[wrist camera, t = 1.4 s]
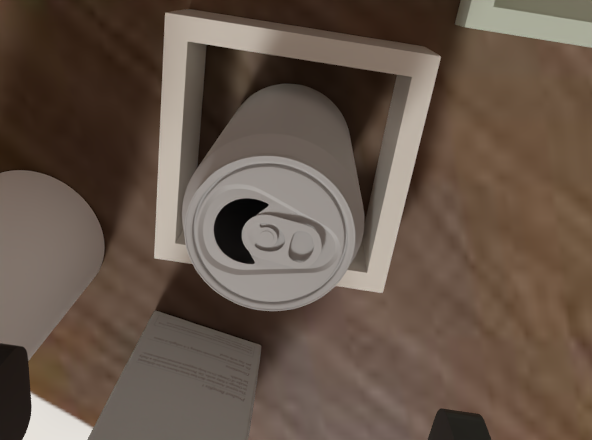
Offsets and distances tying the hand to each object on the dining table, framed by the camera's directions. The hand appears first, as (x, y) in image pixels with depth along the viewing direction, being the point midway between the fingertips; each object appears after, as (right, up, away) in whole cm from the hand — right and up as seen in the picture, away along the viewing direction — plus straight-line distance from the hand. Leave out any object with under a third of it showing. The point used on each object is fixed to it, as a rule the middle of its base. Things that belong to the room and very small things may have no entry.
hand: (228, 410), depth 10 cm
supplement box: (-5, -6, +24) cm, 26 cm away
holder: (+1, +8, +18) cm, 20 cm away
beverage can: (+1, +8, +18) cm, 20 cm away
